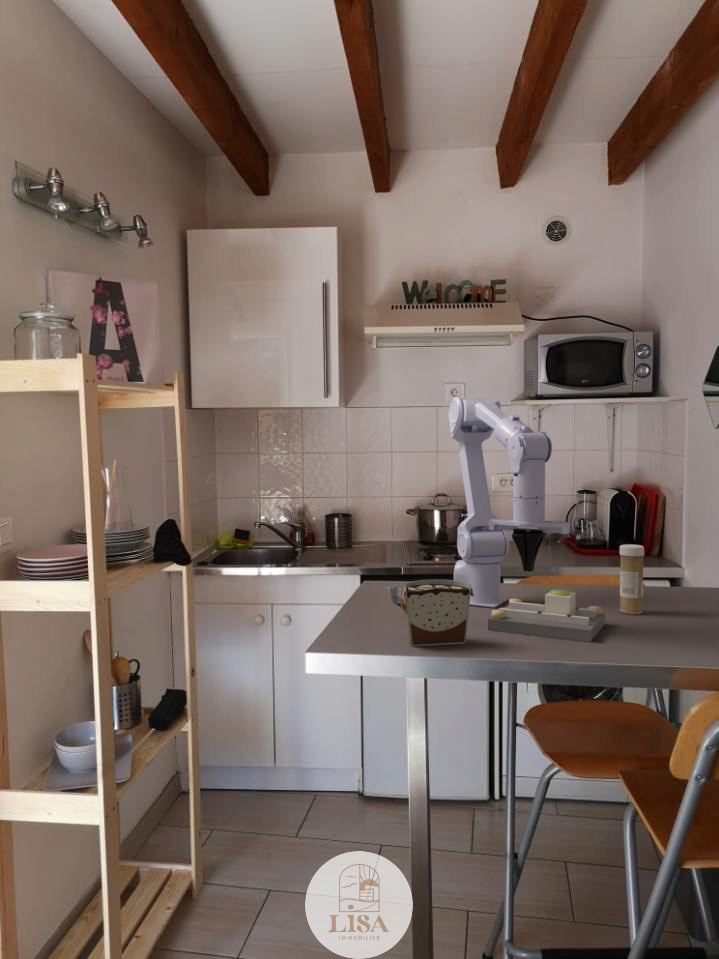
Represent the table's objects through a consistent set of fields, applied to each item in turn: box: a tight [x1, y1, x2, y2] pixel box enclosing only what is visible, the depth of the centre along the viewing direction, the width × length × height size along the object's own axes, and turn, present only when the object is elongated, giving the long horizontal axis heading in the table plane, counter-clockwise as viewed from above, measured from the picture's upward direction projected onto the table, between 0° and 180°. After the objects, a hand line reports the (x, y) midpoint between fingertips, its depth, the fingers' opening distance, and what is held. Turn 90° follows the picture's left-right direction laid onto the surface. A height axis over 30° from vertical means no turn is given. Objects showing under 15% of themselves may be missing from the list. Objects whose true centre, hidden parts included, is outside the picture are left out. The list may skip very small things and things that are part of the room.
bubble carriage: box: [544, 588, 577, 616], centre depth 130 cm, size 4×5×5 cm
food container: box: [402, 579, 474, 647], centre depth 122 cm, size 12×6×10 cm, turn 100°
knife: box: [387, 585, 407, 612], centre depth 146 cm, size 25×1×5 cm, turn 10°
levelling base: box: [487, 598, 606, 643], centre depth 131 cm, size 18×14×3 cm
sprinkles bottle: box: [619, 543, 645, 616], centre depth 142 cm, size 5×5×14 cm
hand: (528, 570), depth 133 cm, fingers closed
